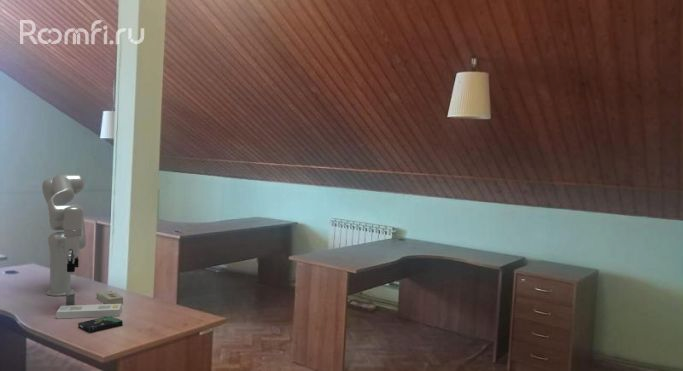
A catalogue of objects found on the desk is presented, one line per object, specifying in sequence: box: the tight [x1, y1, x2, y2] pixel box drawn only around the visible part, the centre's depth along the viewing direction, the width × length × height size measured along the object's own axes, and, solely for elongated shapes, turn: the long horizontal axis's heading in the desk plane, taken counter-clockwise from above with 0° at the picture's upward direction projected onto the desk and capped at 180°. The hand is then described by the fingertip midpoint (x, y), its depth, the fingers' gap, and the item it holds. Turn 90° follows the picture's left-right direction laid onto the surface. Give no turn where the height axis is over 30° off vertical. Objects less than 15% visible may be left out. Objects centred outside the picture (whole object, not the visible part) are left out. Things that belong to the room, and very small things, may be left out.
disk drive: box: [77, 316, 124, 334], centre depth 244 cm, size 10×3×15 cm
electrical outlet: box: [96, 290, 124, 306], centre depth 283 cm, size 7×4×18 cm
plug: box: [65, 290, 76, 306], centre depth 267 cm, size 4×4×8 cm
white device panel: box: [55, 303, 123, 320], centre depth 261 cm, size 10×26×3 cm, turn 105°
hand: (72, 269), depth 266 cm, fingers open, 9 cm apart
